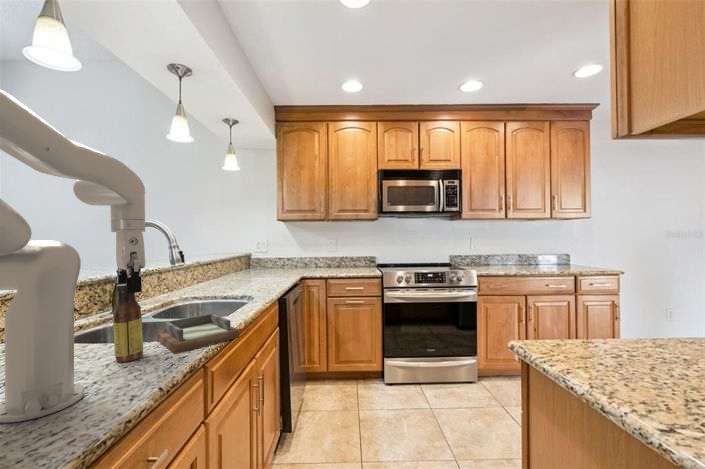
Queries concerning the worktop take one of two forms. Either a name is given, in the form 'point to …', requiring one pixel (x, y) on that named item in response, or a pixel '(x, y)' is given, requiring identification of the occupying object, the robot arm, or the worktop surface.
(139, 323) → the sauce bottle
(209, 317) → the dock
